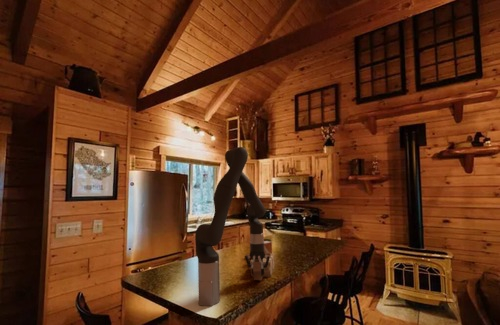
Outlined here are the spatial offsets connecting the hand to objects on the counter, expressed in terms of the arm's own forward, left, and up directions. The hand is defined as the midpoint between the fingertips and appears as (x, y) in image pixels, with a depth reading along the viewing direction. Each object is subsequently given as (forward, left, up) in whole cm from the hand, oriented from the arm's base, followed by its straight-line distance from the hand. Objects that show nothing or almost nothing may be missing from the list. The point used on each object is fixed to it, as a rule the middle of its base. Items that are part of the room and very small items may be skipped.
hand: (258, 275), depth 137 cm
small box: (+35, +2, -3) cm, 35 cm away
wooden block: (0, 0, -2) cm, 2 cm away
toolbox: (+16, 0, -3) cm, 16 cm away
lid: (+16, 0, +4) cm, 16 cm away
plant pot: (+50, +5, -3) cm, 50 cm away
